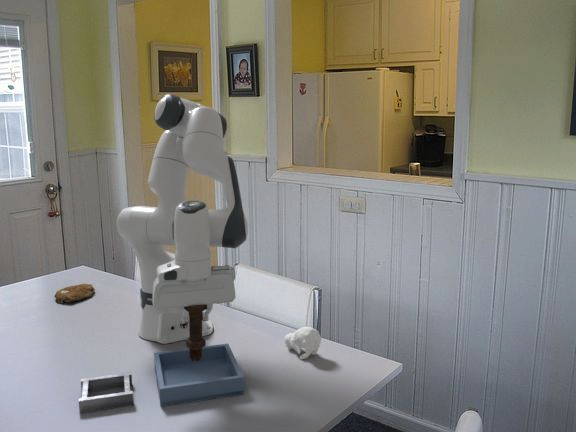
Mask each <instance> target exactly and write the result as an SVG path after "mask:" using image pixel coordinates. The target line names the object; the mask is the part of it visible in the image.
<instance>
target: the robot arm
mask: <svg viewBox="0 0 576 432" xmlns="http://www.w3.org/2000/svg"><path fill="white" fill-rule="evenodd" d="M153 116H154V118H153V119H154V121H155V124H156V125H157V126H158V127H159V128H161V129H162V130H164V131H163V132H162V134H161V136H160V138H159V140H158V142H157V145H156V147H155V151H154V154H153V157H152V161H151V162H152V163H151V166H150V170H149V173H148V174H149V175H148V178H147V186H148V187H149V189H150V191H151V192H152V193H154V194H155V195H156V196H157V197H158V205H157V206H147V205H135V206H129V207H125V208H123V209H122V210H121V211H120V212H119V214H118V215H117V218H116V229H117V232H118V234H119V236H120V237H121V238H122V239H124V240H125V242H127V244H128V245H129V247H130V248H131V249H132V251H133V253H134V255H135V257H136V260H137V263H138V267H139V273H140V275H139V276H140V285H141V288H140V290H139V291H140V292H139V301H140V308H141V319H140V325H139V329H138V335H139V337H140V338H142V339H144V340H147V341H153V342H157V343H159V344H163V345H165V344H170V343H176V342H180V341H186V340H187V338H189V312H188V311H186V310H185V309H184V307H187V306H191V305H204V304H205V305H207V309H206V310H204V311H203V315H202V337H204V336H208V335H211V334H212V333H213V331H214V326H213V323H212V320H210V317H209V315H210V314H211V312H212V310H213V307H214V306H213V305H215V304H223V303H233V302H234V301H235V299H236V288H235V283H234V281H235V280H236V270H235V268H234V267H232V266H230V265H228V264H227V265H226V264H225V265H221V266H220V265H214V266H212V264H213V263H212V252H211V250H210V247H212V248H215V247H218V248H221V247H222V248H225V249H226V248H228V249H237V248H238V247H240V246H241V245H242V244H244V243H245V241H247V238H248V234H249V227H248V226H249V225H248V221H247V217H246V215H245V212H244V207H243V203H242V202H243V201H242V196H241V190H240V183H239V178H238V173H237V168H236V165H235V162H234V160H233V158H232V157H230V156H229V155H227V154H226V152H225V150H224V138H225V136H226V133H227V129H228V123H227V119H226V117H225V116H224V115H222V114H221V113H219V112H218V111H217V110H215V109H214V108H212V107H210V106H205V105H203V104H202V103H199V102H195V101H192V100H189V99H186V98H184V97H180V96H179V95H175V94H169V93H167V94H165V95H163V96H162V97H161V98H160V99H159V101H158V102H157V104H156V106H155V110H154V115H153ZM189 169H190V170H192V171H193V172H194V173H197V174H198V175H199V176H204V177H207V178H209V179H212V180H214V181H216V182H219V183H220V185H222V186H223V188H224V192H225V194H224V195H225V199H226V206H227V207H225V208H222V209H221V208H220V209H209V208H208V206H207V203H205V202H204V201H200V200H187V199H186V186H187V184H186V183H187V179H188V175H189ZM164 246H169V247H170V246H171V247H172V246H173V247H175V253H174V256H172V255H171V254H170V253H169V252H168V251H167V250H166V249H165V247H164Z"/></svg>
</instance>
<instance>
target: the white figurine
mask: <svg viewBox="0 0 576 432" xmlns="http://www.w3.org/2000/svg"><path fill="white" fill-rule="evenodd" d="M321 341H322V336H321V334H320V332H319V331H318V330H317V329H315V328H314V327H311V326H303V327H300V328H298V329H297V330H296V331H294V332H289V333H287V334H286V335H285V337H284V343H285V347H286V349H287V350H289V349H292V350H294V351H296V352H297V354H301V350H302V349H304V351H305V352H304V353H302V354H301V355H300V356H299V359H300V360H306V359H308V358H309V357H310V356H311V355H312V356H316V354H317V353H318V352H319V348H320V347H321Z"/></svg>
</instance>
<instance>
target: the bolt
mask: <svg viewBox="0 0 576 432" xmlns="http://www.w3.org/2000/svg"><path fill="white" fill-rule="evenodd" d="M184 309H185V310H186V311H188V312H189V338H187V339H186V340H185V345H186V347H187V349H188V348H189V350H190V351H189V354H190V355H189V357H190V359H191V360H192V361H194V360H195V361H199V360H200V359H201V358H202V348H203V347H204V346H207V345H206V338H205V337H204V336H202V315H203V311H204V312H205V311H206V309H207V305H205V304H204V305H191V306H187V307H184Z"/></svg>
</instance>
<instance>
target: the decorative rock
mask: <svg viewBox="0 0 576 432" xmlns="http://www.w3.org/2000/svg"><path fill="white" fill-rule="evenodd" d="M95 291H96V288H95V287H93V284H88V283H81V284H77V285H71V286H65V287H63V288H61V289H58V290H57V291H56V293H55V294H54V295H53V297H54V298H55V301H56V303H57V304H59V303H60V304H64V303H65V304H66V303H73V302H76V301H77V302H79V301H80V300H83V299H88V297H90V296H91V295H92V294H94V293H95Z"/></svg>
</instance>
